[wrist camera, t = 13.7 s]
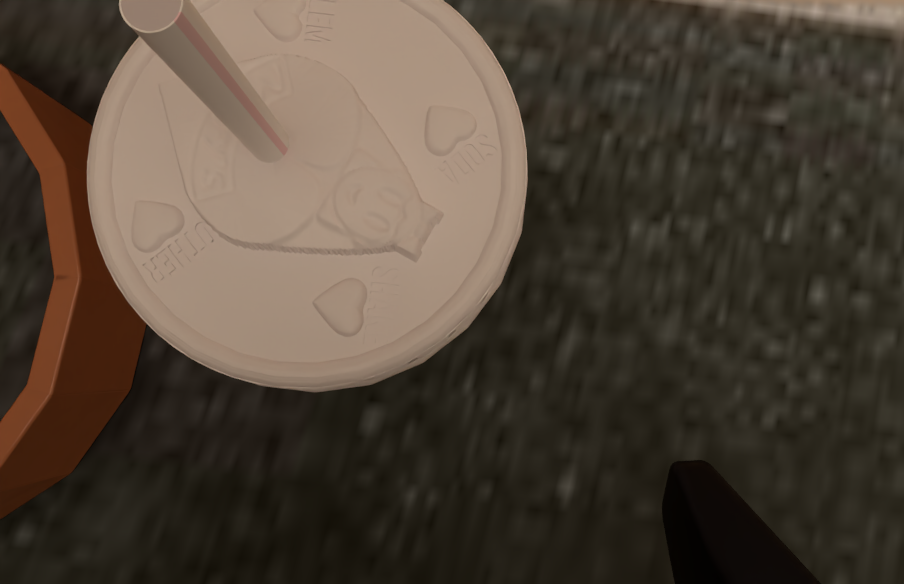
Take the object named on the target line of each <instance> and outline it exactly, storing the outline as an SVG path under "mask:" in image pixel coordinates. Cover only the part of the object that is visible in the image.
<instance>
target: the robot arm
mask: <svg viewBox="0 0 904 584" xmlns="http://www.w3.org/2000/svg"><path fill="white" fill-rule="evenodd" d="M662 515H663V523H664V528H665V534H666V539H667V544H668V550H669V555H670V561H671V566H672V571H673V577H674V582H675V584H821V583H820V582H819V581H818V580H817V579H816V578H815V577H814V576H813V575H812V573H811V572H810V571H809V570H808V569H807V568H806V567H805V566H804V565H803V564H802V563H801V562H800V561H799V559H798V558H797V557H796V556H795V555H794V554H793V553H792V552H791V551H790V550H789V549H788V548H787V546H786V545H785V544H784V543H783V542H782V541H781V540H780V539H779V538H778V537H777V536H776V535H775V533H774V532H773V531H772V530H771V529H770V528H769V527H768V526H767V525H766V524H765V523H764V522H763V521H762V519H761V518H760V517H759V516H758V515H757V514H756V513H755V512H754V511H753V510H752V509H751V508H750V506H749V505H748V504H747V503H746V502H745V501H744V500H743V499H742V498H741V497H740V496H739V495H738V493H737V492H736V491H735V490H734V489H733V488H732V487H731V486H730V485H729V484H728V483H727V482H726V481H725V479H724V478H723V477H722V476H721V475H720V474H719V473H718V472H717V471H716V470H715V469H714V468H713V467H712V466H711V465H710V464H709V463H708V462H705V461H702V460H694V461H677V462H674V463H673V464H672V465H671V467H670V469H669V474H668V479H667V483H666V488H665V493H664V497H663V502H662Z"/></svg>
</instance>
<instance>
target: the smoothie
mask: <svg viewBox="0 0 904 584" xmlns="http://www.w3.org/2000/svg"><path fill="white" fill-rule="evenodd" d="M119 8H120V12H121V15H122V17H123V19H124V20H125V22H126V23H127V24H128V25H129V26H130V27H131V28H132V29H133V30H134V31H135V32H136V33H137V34H138V35H139V37H138V38H137V40H136V41H135V42H134V43H133V44H132V46H131V47H130V49H129V50H128V51H127V53H126V54H125V56H124V57H123V59H122V60H121V61H120V63H119V65H118V67H117V68H116V70H115V72H114V74H113V76H112V77H111V79H110V81H109V83H108V86H107V88H106V90H105V92H104V95H103V97H102V99H101V102H100V105H99V108H98V111H97V114H96V117H95V120H94V125H93V129H92V133H91V138H90V144H89V152H88V160H87V191H88V204H89V210H90V215H91V221H92V226H93V229H94V233H95V236H96V240H97V243H98V246H99V249H100V251H101V254H102V256H103V259H104V261H105V264H106V266H107V268H108V270H109V272H110V274H111V275H112V277H113V279H114V281H115V283H116V285H117V286H118V288H119V289H120V291H121V292H122V294H123V295H124V297H125V298H126V300H127V301H128V303H129V304H130V305H131V306H132V308H133V309H134V310H135V311H136V312H137V314H138V315H139V316H140V317H141V318H142V319H143V320H144V321H145V322H146V323H147V324H148V325H149V326H150V327H151V328H152V329H153V330H154V331H155V332H156V333H157V334H158V335H159V336H160V337H162V338H163V339H164V340H165V341H167V342H168V343H169V344H170V345H172V346H173V347H174V348H176V349H177V350H179V351H180V352H182V353H183V354H185V355H186V356H188V357H189V358H191V359H193V360H195V361H197V362H199V363H200V364H202V365H204V366H206V367H208V368H210V369H212V370H215V371H217V372H220V373H222V374H225V375H228V376H230V377H233V378H237V379H240V380H244V381H247V382H251V383H255V384H257V385H259V386H267V387H275V388H283V389H291V390H299V391H307V392H315V393H316V392H323V391H330V390H338V389H345V388H352V387H359V386H366V385H372V384H374V383H377V382H379V381H381V380H384V379H386V378H388V377H391V376H393V375H396V374H398V373H400V372H403V371H405V370H407V369H410V368H412V367H414V366H417V365H419V364H421V363H424V362H425V361H426V360H427V359H429V358H430V357H431V356H433V355H434V354H435V353H436V352H438V351H439V350H440V349H442V348H443V347H444V346H445V345H447V344H448V343H449V342H450V341H452V340H453V339H454V338H456V337H457V336H458V335H459V334H461V333H462V332H463V331H465V330H466V329H467V328H468V327H469V326H470V324H471V323H472V322H473V320H474V319H475V318H476V316H477V315H478V314H479V312H480V311H481V310H482V308H483V307H484V306H485V304H486V303H487V302H488V300H489V299H490V298H491V296H492V295H493V294H494V292H495V291H496V290H497V289H498V287H499V286H500V285H501V283H502V280H503V278H504V275H505V273H506V270H507V268H508V265H509V263H510V260H511V258H512V255H513V253H514V250H515V248H516V245H517V243H518V240H519V238H520V235H521V233H522V225H523V217H524V208H525V200H526V191H527V182H528V176H527V150H526V143H525V135H524V129H523V124H522V120H521V116H520V112H519V108H518V105H517V102H516V99H515V97H514V94H513V91H512V88H511V86H510V84H509V82H508V80H507V78H506V75H505V73H504V71H503V69H502V68H501V66H500V64H499V62H498V61H497V59H496V57H495V56H494V54H493V52H492V51H491V50H490V48H489V47H488V46H487V44H486V43H485V41H484V40H483V39H482V37H481V36H480V35H479V34H478V33H477V31H476V30H475V29H474V28H473V27H472V26H471V25H470V24H469V23H468V22H467V20H466V19H464V18H463V17H462V16H461V15H460V14H459V13H458V12H457V11H456V10H455V9H454V8H452V7H451V6H450V5H449V4H447V3H446V2H445V1H443V0H119Z"/></svg>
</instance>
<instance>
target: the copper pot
mask: <svg viewBox="0 0 904 584" xmlns="http://www.w3.org/2000/svg"><path fill="white" fill-rule="evenodd" d="M0 111H1V112H2V114H3V116H4V117H5V119H6V120H7V122H8V124H9V125H10V127H11V129H12V130H13V132H14V133H15V135H16V137H17V138H18V140H19V141H20V143H21V145H22V146H23V148H24V150H25V151H26V153H27V154H28V156H29V158H30V159H31V161H32V162H33V164H34V166H35V167H36V169H37V171H38V172H39V174H40V180H41V187H42V194H43V201H44V208H45V215H46V222H47V229H48V236H49V243H50V250H51V257H52V264H53V271H54V281H53V285H52V289H51V293H50V296H49V300H48V304H47V308H46V312H45V316H44V320H43V324H42V328H41V332H40V336H39V340H38V344H37V347H36V351H35V355H34V359H33V363H32V367H31V371H30V375H29V379H28V383H27V385H26V387H25V388H24V390H23V391H22V392H21V394H20V395H19V397H18V398H17V399H16V401H15V402H14V403H13V405H12V406H11V408H10V409H9V410H8V412H7V413H6V415H5V416H4V417H3V419H2V420H1V421H0V519H2V518H3V517H5V516H6V515H8V514H9V513H11V512H12V511H14V510H15V509H17V508H18V507H20V506H21V505H23V504H25V503H26V502H28V501H29V500H31V499H32V498H34V497H35V496H37V495H38V494H40V493H41V492H43V491H44V490H46V489H48V488H49V487H51V486H52V485H54V484H55V483H57V482H58V481H60V480H61V479H63V478H64V477H66V476H67V475H69V474H70V473H72V471H73V470H74V469H75V467H76V466H77V465H78V463H79V462H80V460H81V459H82V458H83V456H84V455H85V453H86V452H87V450H88V449H89V448H90V446H91V445H92V443H93V442H94V441H95V439H96V438H97V436H98V435H99V434H100V432H101V431H102V429H103V428H104V426H105V425H106V424H107V422H108V421H109V419H110V418H111V417H112V415H113V414H114V412H115V411H116V410H117V408H118V407H119V405H120V404H121V402H122V401H123V400H124V398H125V397H126V395H127V394H128V393H129V391H130V389H131V386H132V382H133V378H134V373H135V369H136V365H137V361H138V357H139V353H140V349H141V345H142V340H143V336H144V332H145V328H146V324H147V323H146V322H145V321H144V320H143V319H142V318H141V317H140V316H139V315H138V314H137V312H136V311H135V310H134V309H133V308H132V306H131V305H130V304H129V303H128V301H127V300H126V298H125V297H124V295H123V294H122V292H121V291H120V289H119V288H118V286H117V285H116V283H115V281H114V279H113V277H112V275H111V274H110V272H109V270H108V268H107V266H106V264H105V261H104V259H103V256H102V254H101V251H100V249H99V246H98V243H97V240H96V236H95V233H94V229H93V226H92V221H91V215H90V210H89V204H88V191H87V160H88V152H89V144H90V138H91V133H92V129H93V127H92V126H91V125H90V123H88V122H87V121H85V120H84V119H82V118H81V117H79V116H78V115H76V114H75V113H73V112H72V111H71V110H69V109H68V108H66V107H65V106H63V105H62V104H60V103H59V102H57V101H56V100H54V99H53V98H51V97H50V96H48V95H47V94H46V93H44V92H43V91H41V90H40V89H38V88H37V87H35V86H34V85H32V84H31V83H29V82H28V81H26V80H25V79H23V78H22V77H20V76H19V75H18V74H16V73H15V72H13V71H12V70H10V69H9V68H7V67H6V66H4V65H3V64H1V63H0Z"/></svg>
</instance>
